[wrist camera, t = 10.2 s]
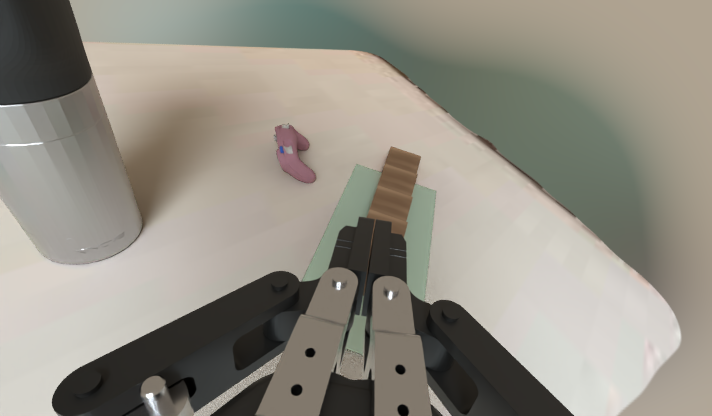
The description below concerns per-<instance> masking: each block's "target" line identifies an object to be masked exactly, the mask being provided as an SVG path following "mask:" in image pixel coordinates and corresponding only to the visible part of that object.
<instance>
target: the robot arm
mask: <svg viewBox="0 0 712 416" xmlns="http://www.w3.org/2000/svg"><path fill="white" fill-rule="evenodd" d="M0 198H1V199H2V201H3V202H4V203H5V205H6V206H7V208H8V209H9V210H10V212H11V213H12V214H13V216H14V217H15V219H16V220H17V221H18V223H19V224H20V226H21V227H22V229H23V230H24V231H25V233H26V234H27V235H28V237H29V238H30V240H31V241H32V242H33V244H34V245H35V246H36V248H37V249H38V251H39V252H40V253H41V254H42V255H43V256H44V257H46V258H48V259H50V260H51V261H54V262H58V263H62V264H86V263H91V262H96V261H100V260H102V259H105V258H108V257H111V256H113V255H115V254H117V253H119V252H120V251H122V250H123V249H125V248H126V247H128V246H129V245H130V244H131V243H132V242H133V241H134V240H135V239H136V238H137V236H138V235H139V234H140V231H141V228H142V217H141V214H140V211H139V208H138V205H137V202H136V199H135V196H134V193H133V190H132V187H131V184H130V181H129V178H128V175H127V172H126V169H125V166H124V163H123V160H122V157H121V154H120V151H119V148H118V146H117V143H116V140H115V137H114V134H113V131H112V128H111V125H110V122H109V119H108V116H107V113H106V110H105V107H104V105H103V102H102V99H101V96H100V93H99V90H98V88H97V85H96V82H95V79H94V76H93V73H92V70H91V67H90V64H89V61H88V59H87V56H86V53H85V49H84V46H83V43H82V40H81V36H80V33H79V29H78V26H77V23H76V20H75V17H74V14H73V11H72V7H71V5H70V1H69V0H0ZM374 220H375V219H372V218H366V217H359V219H358V223H357V227H353V226H347V225H346V226H345V227H343V228H342V229H341V230H340V231H339V234H338V237H337V240H336V244H335V247H334V251H333V254H332V257H331V261H330V264H329V267H328V270H327V271H325V272H324V273H323V275H322V276H321V277H320V278H318V279H316V280H312V281H301V282H299V280H298V278H297V277H296V276H295V275H294V274H292V273H289V272H286V271H276V272H272V273H270V274H268V275H266V276H264V277H262V278H260V279H258V280H255V281H253V282H251V283H249V284H247V285H245V286H243V287H241V288H239V289H237V290H235V291H233V292H231V293H229V294H227V295H225V296H223V297H221V298H219V299H217V300H215V301H213V302H211V303H209V304H207V305H205V306H203V307H201V308H199V309H197V310H195V311H193V312H191V313H189V314H187V315H185V316H183V317H181V318H179V319H177V320H175V321H173V322H171V323H169V324H167V325H165V326H163V327H161V328H159V329H156V330H154V331H152V332H150V333H148V334H146V335H144V336H142V337H140V338H138V339H136V340H134V341H132V342H130V343H128V344H126V345H124V346H122V347H120V348H118V349H116V350H114V351H112V352H110V353H108V354H106V355H104V356H102V357H100V358H98V359H96V360H94V361H92V362H90V363H88V364H86V365H84V366H82V367H80V368H78V369H77V370H75V371H74V372H72V373H71V374H70V375H68V376H67V377H66V378H65V379H64V380H63V381H62V382H61V383H60V385H59V386H58V387H57V389H56V391H55V393H54V395H53V398H52V406H53V409H54V411H55V412H56V413H57V415H58V416H194V413H195V412H196V411H198V410H199V409H201V408H202V407H203V406H205V405H206V404H208V403H209V402H211V401H212V400H214V399H215V398H216V397H218V396H219V395H221V394H222V393H224V392H225V391H227V390H228V389H230V388H231V387H232V386H234V385H235V384H237V383H238V382H240V381H241V380H243V379H244V378H245V377H247V376H248V375H250V374H251V373H253V372H254V371H256V370H257V369H258V368H260V367H261V366H263V365H264V364H266V363H267V362H269V361H270V360H271V359H273V358H274V357H276V356H277V355H279V354H280V353H282V352H283V351H284V352H283V354H282V357H281V359H280V361H279V363H278V366H277V368H276V370H275V372H274V373H273V374H270V375H267V376H265V377H263V378H261V379H259V380H257V381H256V382H254V383H252V384H251V385H250V386H248V387H247V388H246V389H244V390H243V391H242V392H240V393H239V394H238V395H236V396H235V397H234V398H233V399H231V400H230V401H229V402H227V403H226V404H225V405H223V406H222V407H221V408H219V409H218V410H217V411H215V412H214V413H213V414H212V415H210V416H442V414H441V413H440V412H439V411H438V410H437V409H436V408H435V407H434V406H432V405H431V404H430V398H429V391H428V385H429V386H430V387H431V389H432V390H433V391H434V393H435V394H436V395H437V397H438V398H439V399H440V401H441V402H442V403H443V405H444V406H445V407H446V409H447V410H448V411H449V413H450V414H451V415H452V416H574V415H573V414H572V413H571V412H570V411H569V410H568V409H567V408H566V407H565V406H564V405H563V404H562V403H561V402H560V401H559V400H557V399H556V398H555V397H554V396H553V395H552V394H551V393H550V392H549V391H548V390H547V389H546V388H545V387H544V386H543V385H542V384H541V383H540V382H539V381H538V380H537V379H536V378H535V377H534V376H533V375H532V374H531V373H530V372H529V371H528V370H527V369H526V368H525V367H524V366H522V365H521V364H520V363H519V362H518V361H517V360H516V359H515V358H514V357H513V356H512V355H511V354H510V353H509V352H508V351H507V350H506V349H505V348H504V347H503V346H502V345H501V344H500V343H499V342H498V341H497V340H496V339H495V338H494V337H493V336H492V335H491V334H490V333H488V332H487V331H486V330H485V329H484V328H483V327H482V326H481V325H480V324H479V323H478V322H477V321H476V320H475V319H474V318H473V317H472V316H471V315H470V314H469V313H468V312H467V311H466V310H465V309H464V308H463V307H461V306H460V305H459V304H457V303H455V302H452V301H449V300H439V301H436V302H434V303H433V304H432V305H431V304H429V303H426V302H424V301H422V300H420V299H418V298H417V297H416V296H414V295H413V294H412V293H411V291H410V289H409V287H408V285H407V259H406V257H407V252H406V251H407V248H406V241H405V239H404V237H403V236H402V234H395V233H391V228H392V222H390V221H384V220H378V219H376V222H375V228H374V233H373V227H374ZM372 234H373V239H372ZM371 241H372V245H371ZM370 248H371V251H370ZM369 255H370V257H369ZM368 262H369V264H368ZM367 269H368V271H367ZM366 275H367V278H366ZM365 281H366V285H365ZM364 287H365V293H364ZM363 293H364V300H363V307H362V314H361V316H366V324H365V329H364V336H363V363H362V380H350V379H348V378H345V377H343V376H341V375H339V373H340V370H341V366H342V362H343V358H344V354H345V350H346V347H347V343H348V339H349V335H350V330H351V328H352V326H353V323H354V317H355V315H360V310H361V304H362V298H363Z"/></svg>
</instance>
